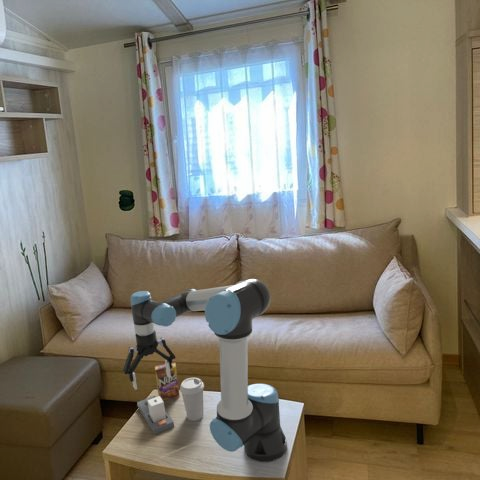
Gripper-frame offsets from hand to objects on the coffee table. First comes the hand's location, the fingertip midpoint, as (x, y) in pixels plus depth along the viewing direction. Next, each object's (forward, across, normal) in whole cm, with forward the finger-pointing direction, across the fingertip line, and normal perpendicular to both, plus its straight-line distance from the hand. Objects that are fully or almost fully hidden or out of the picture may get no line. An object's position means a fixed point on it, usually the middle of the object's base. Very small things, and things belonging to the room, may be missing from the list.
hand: (152, 382), depth 179 cm
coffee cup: (+18, -14, +6) cm, 23 cm away
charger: (+17, 0, 0) cm, 17 cm away
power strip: (+18, 0, -4) cm, 18 cm away
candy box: (+18, -10, -14) cm, 25 cm away
